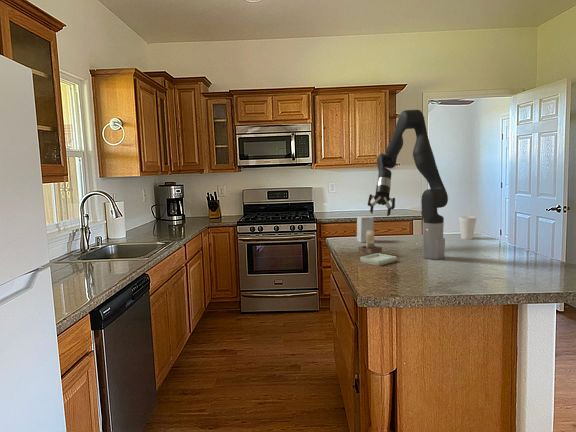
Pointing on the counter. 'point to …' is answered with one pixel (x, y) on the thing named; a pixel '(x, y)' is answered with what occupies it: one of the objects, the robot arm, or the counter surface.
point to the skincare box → (364, 227)
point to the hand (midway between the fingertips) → (379, 214)
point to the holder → (370, 250)
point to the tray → (378, 259)
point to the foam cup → (467, 226)
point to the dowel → (370, 239)
